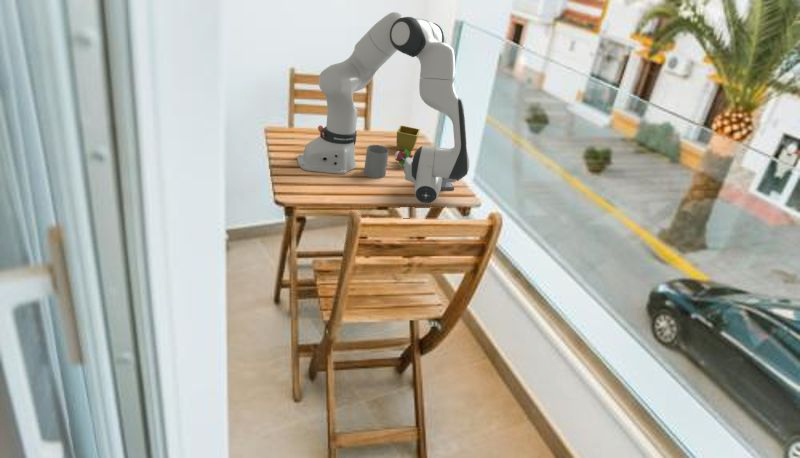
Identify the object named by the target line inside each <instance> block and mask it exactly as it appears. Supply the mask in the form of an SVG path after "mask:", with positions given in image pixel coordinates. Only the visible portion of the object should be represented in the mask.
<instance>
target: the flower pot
mask: <svg viewBox="0 0 800 458" xmlns="http://www.w3.org/2000/svg"><path fill="white" fill-rule="evenodd" d="M398 127H399V128H397V129H398V130H397V131H396V148H397V149H398V151H401V150H402V151H403V152H404V151H405V149H407V150H408V151H409V152H410V153H411V152H412V151H413V150H414V148H415V146H416V144H417V141H418V137H419V134H420V131H421V130H420V129H419V128H417V127H416V128H415V127H411V126H407V125H400V126H398ZM402 151H401V152H402Z"/></svg>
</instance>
